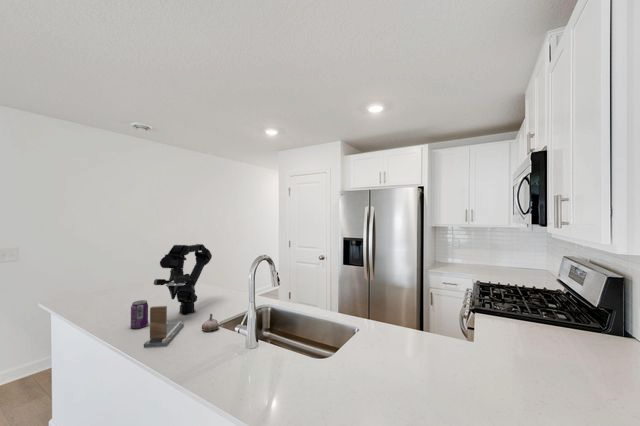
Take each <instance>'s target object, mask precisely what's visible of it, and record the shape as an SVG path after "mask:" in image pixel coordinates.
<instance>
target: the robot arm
mask: <svg viewBox="0 0 640 426" xmlns="http://www.w3.org/2000/svg"><path fill="white" fill-rule="evenodd" d="M193 252H194V257H195V265H194V267H193V268H192V270H191V272H190V273H185V272H184V267H185V266H184V265H185V261H187V258H186V256H187V255H189V254H190V253H193ZM212 255H213V254H212V253H211V250H210V249H208V248H207V247H206V246H205V245H204V244H201V243H200V244H199V243H196V244H191V245H189V244H188V245H187V244H173V246H172V247H171V248H170V249H169V251H168V253H167V254H164V256H163V257H162V258H161V259H160V260H159V261H160V262H159V266H160V268H162V269H170V270H169V273H170V275H169V278H168V280H166V279H164V278H156V279H154V281H153V285H154V286H164V285H165V287H167V288H168V290H169V294H170V297H171V300H175V298H176V299H177V303H180V305H179V314H180V315H184V316H187V315H190V314H193V313H196V310H195V303H196V301H198V296H197V294H196V289H195V287H196V284H197V282H198V280H199V278H200V276H201V274H202V271H203V269H204V267H205V266H206V265H208V264H209V263H210V261H211V259H212V258H213V257H212ZM184 273H185V274H184Z"/></svg>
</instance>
